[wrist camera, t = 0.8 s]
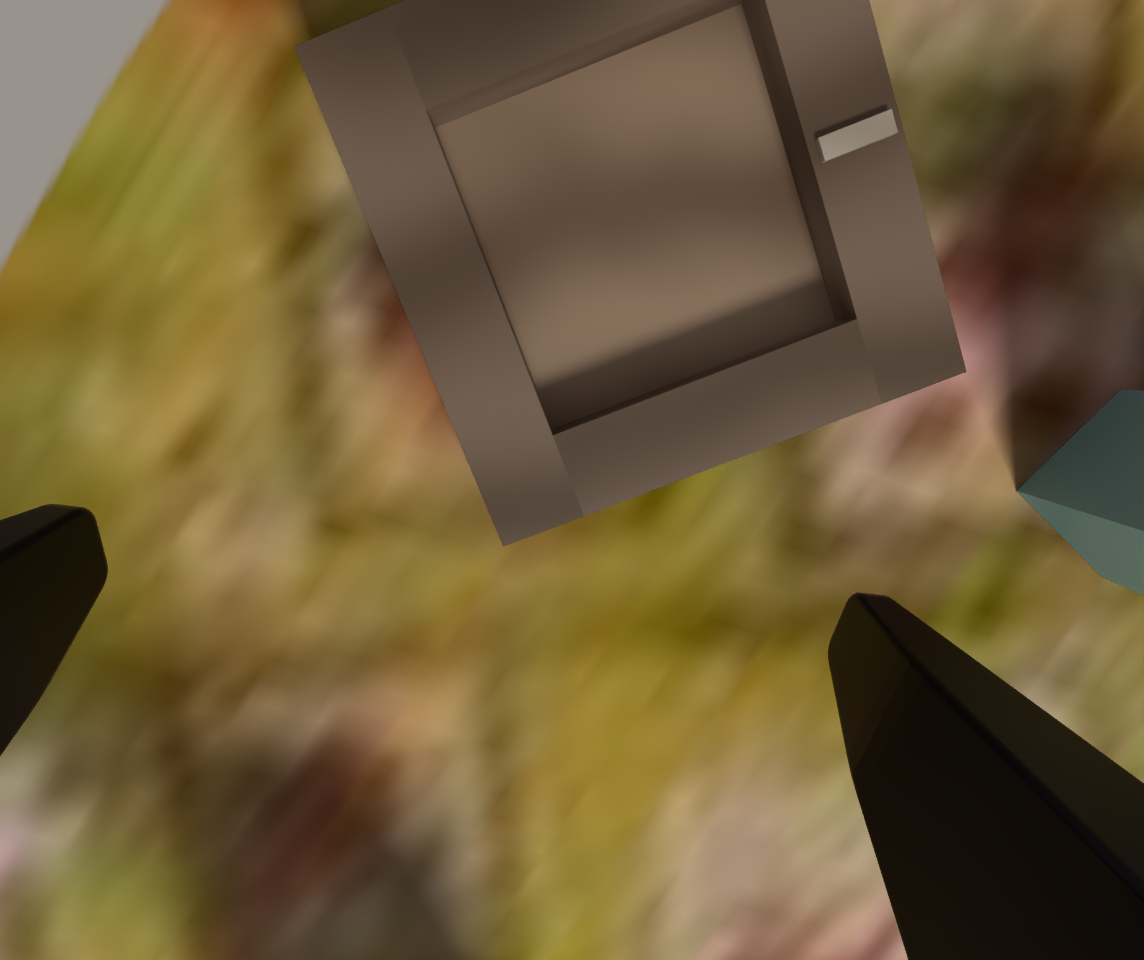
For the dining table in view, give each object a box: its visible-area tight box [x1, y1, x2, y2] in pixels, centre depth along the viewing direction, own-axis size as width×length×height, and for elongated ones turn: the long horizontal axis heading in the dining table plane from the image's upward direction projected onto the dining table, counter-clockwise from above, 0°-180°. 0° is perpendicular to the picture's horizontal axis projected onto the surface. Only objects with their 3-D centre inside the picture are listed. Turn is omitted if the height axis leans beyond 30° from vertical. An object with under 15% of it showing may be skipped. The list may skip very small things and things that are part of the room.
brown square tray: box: [294, 0, 966, 546], centre depth 20 cm, size 14×14×3 cm
